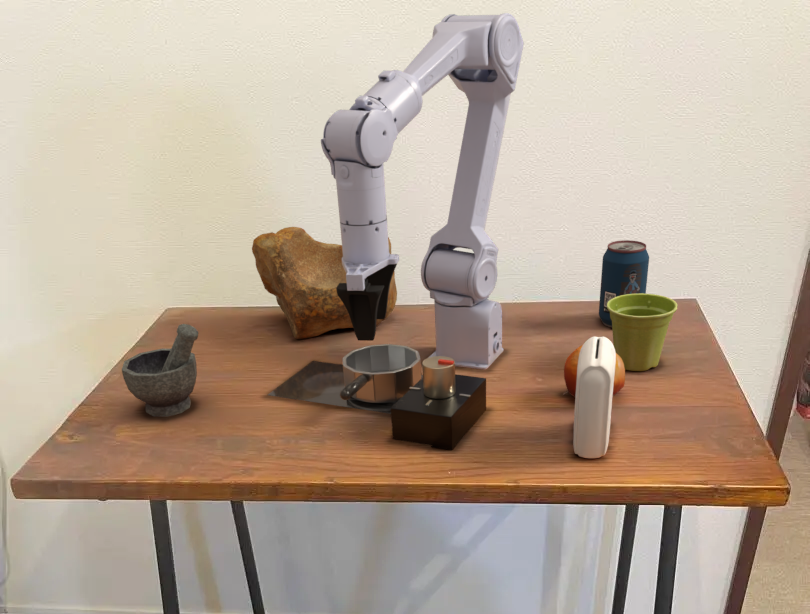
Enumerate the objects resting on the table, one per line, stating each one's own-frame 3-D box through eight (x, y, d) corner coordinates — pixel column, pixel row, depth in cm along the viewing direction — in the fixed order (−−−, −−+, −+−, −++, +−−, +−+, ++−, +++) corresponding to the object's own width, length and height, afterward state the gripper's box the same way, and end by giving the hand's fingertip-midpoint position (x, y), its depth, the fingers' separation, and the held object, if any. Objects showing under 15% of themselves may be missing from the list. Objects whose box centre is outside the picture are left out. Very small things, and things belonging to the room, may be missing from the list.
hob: (267, 396, 122) (267, 394, 122) (313, 362, 132) (313, 360, 132) (403, 417, 114) (403, 415, 114) (441, 379, 124) (441, 377, 124)
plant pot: (672, 377, 120) (679, 316, 115) (601, 375, 122) (606, 315, 117) (668, 352, 128) (675, 293, 123) (603, 350, 129) (607, 292, 125)
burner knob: (418, 396, 109) (416, 363, 106) (431, 384, 111) (430, 352, 109) (448, 400, 107) (447, 367, 105) (460, 388, 110) (459, 355, 108)
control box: (429, 401, 118) (428, 369, 115) (487, 410, 115) (487, 376, 112) (391, 440, 109) (389, 406, 106) (452, 450, 106) (451, 415, 103)
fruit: (574, 366, 121) (603, 325, 115) (613, 406, 119) (644, 367, 113) (538, 385, 117) (566, 343, 110) (578, 427, 115) (608, 387, 108)
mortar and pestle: (121, 422, 118) (99, 337, 111) (149, 393, 125) (130, 312, 119) (199, 425, 116) (182, 338, 109) (223, 395, 123) (208, 312, 117)
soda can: (615, 311, 143) (621, 236, 136) (651, 320, 139) (659, 243, 132) (589, 323, 139) (594, 246, 133) (625, 333, 135) (632, 254, 128)
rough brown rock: (242, 351, 139) (228, 259, 130) (267, 308, 152) (255, 221, 143) (387, 355, 137) (382, 261, 127) (399, 310, 150) (396, 222, 140)
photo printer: (575, 420, 111) (581, 326, 104) (610, 422, 110) (618, 327, 103) (570, 459, 102) (575, 359, 96) (607, 461, 102) (615, 360, 95)
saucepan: (366, 371, 127) (364, 340, 124) (433, 380, 123) (431, 348, 120) (310, 418, 115) (306, 385, 112) (382, 430, 111) (379, 396, 108)
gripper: (385, 235, 99) (392, 350, 106) (405, 204, 110) (411, 309, 118) (324, 236, 100) (336, 349, 107) (351, 205, 112) (360, 309, 119)
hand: (371, 328), depth 113 cm, fingers open, 7 cm apart
